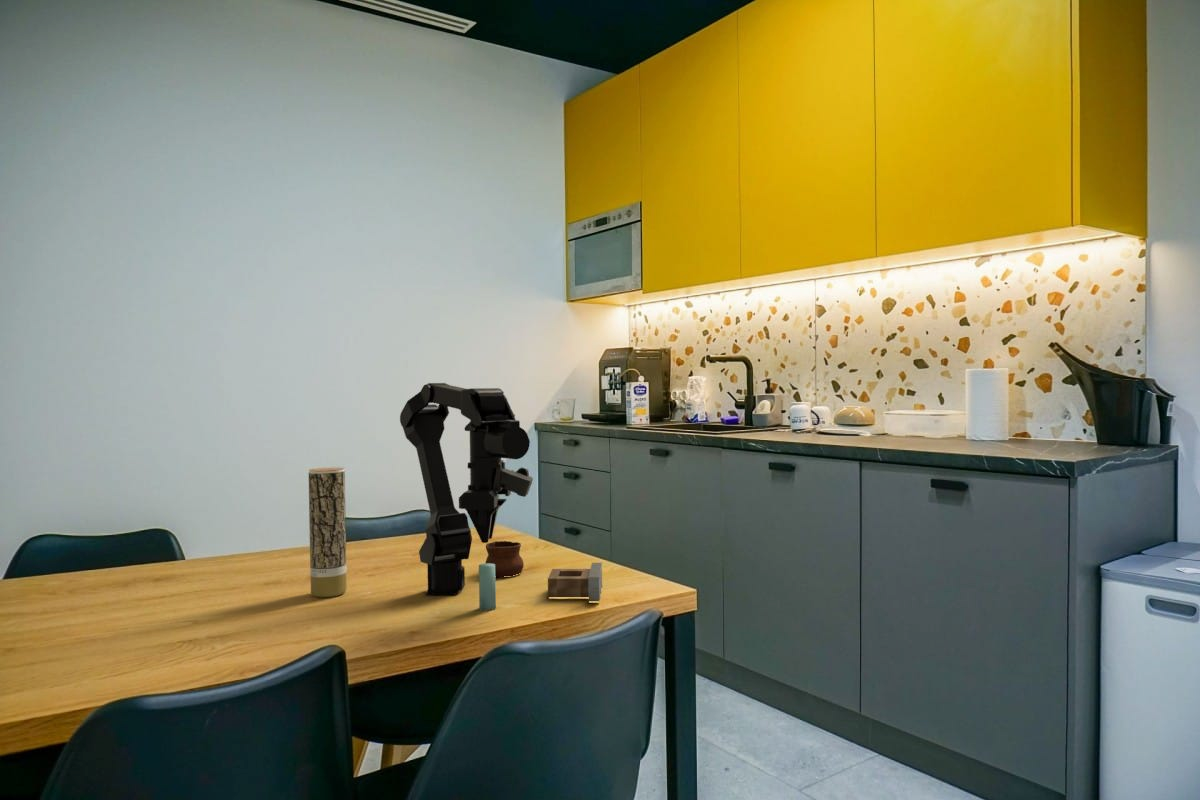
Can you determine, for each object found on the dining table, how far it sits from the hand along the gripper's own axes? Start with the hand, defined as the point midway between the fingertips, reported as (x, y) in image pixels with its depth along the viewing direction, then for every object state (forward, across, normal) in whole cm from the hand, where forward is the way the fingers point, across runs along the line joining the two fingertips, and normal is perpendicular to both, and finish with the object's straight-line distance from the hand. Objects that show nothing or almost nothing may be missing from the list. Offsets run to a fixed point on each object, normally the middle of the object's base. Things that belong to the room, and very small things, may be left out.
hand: (486, 540), depth 141 cm
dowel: (+12, 0, 0) cm, 13 cm away
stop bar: (+12, +9, -20) cm, 25 cm away
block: (+12, +10, -14) cm, 22 cm away
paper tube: (+13, +10, +34) cm, 38 cm away
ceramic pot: (+13, +27, +2) cm, 30 cm away
